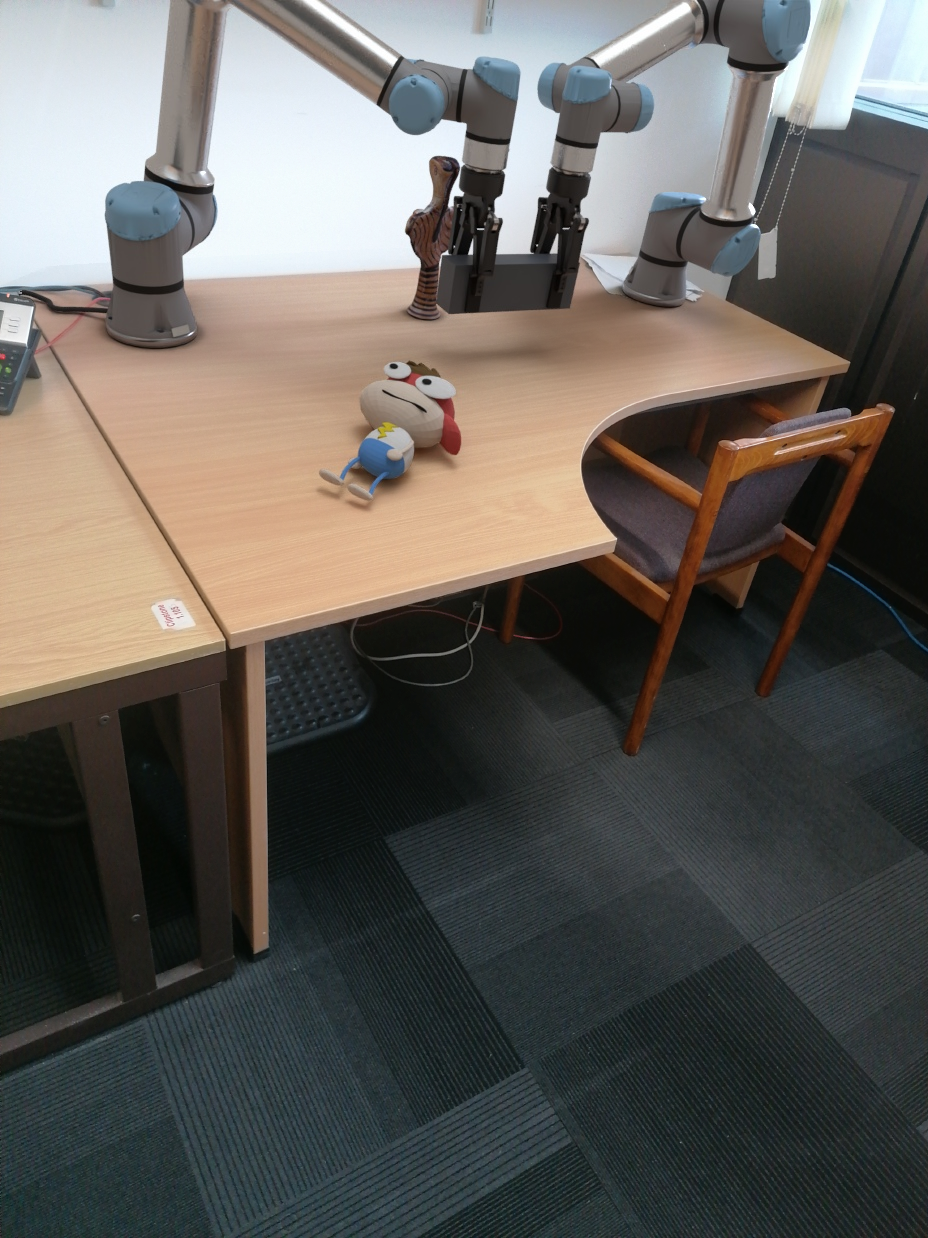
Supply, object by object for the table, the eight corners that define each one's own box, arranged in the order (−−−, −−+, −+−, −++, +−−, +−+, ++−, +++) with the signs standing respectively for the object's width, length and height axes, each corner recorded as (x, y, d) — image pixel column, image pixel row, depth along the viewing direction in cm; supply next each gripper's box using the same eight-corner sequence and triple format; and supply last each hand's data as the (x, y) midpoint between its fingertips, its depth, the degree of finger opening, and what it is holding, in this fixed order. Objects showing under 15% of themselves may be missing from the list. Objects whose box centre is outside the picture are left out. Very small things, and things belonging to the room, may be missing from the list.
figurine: (432, 300, 190) (450, 146, 171) (461, 312, 187) (483, 156, 168) (388, 314, 180) (402, 152, 161) (417, 327, 177) (436, 163, 158)
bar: (448, 314, 159) (455, 265, 154) (435, 303, 162) (441, 254, 157) (570, 308, 171) (580, 262, 165) (555, 298, 174) (565, 252, 169)
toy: (281, 425, 122) (398, 341, 141) (280, 482, 129) (391, 396, 148) (394, 483, 117) (499, 388, 137) (386, 539, 125) (486, 442, 144)
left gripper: (530, 183, 144) (506, 323, 158) (477, 153, 155) (458, 286, 170) (491, 182, 140) (469, 325, 155) (439, 151, 152) (423, 287, 167)
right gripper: (617, 185, 151) (587, 318, 166) (560, 156, 163) (536, 283, 178) (582, 184, 148) (553, 320, 163) (526, 155, 160) (504, 284, 174)
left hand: (463, 305), depth 162 cm, fingers closed on bar, 5 cm apart
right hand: (544, 301), depth 170 cm, fingers closed on bar, 5 cm apart
